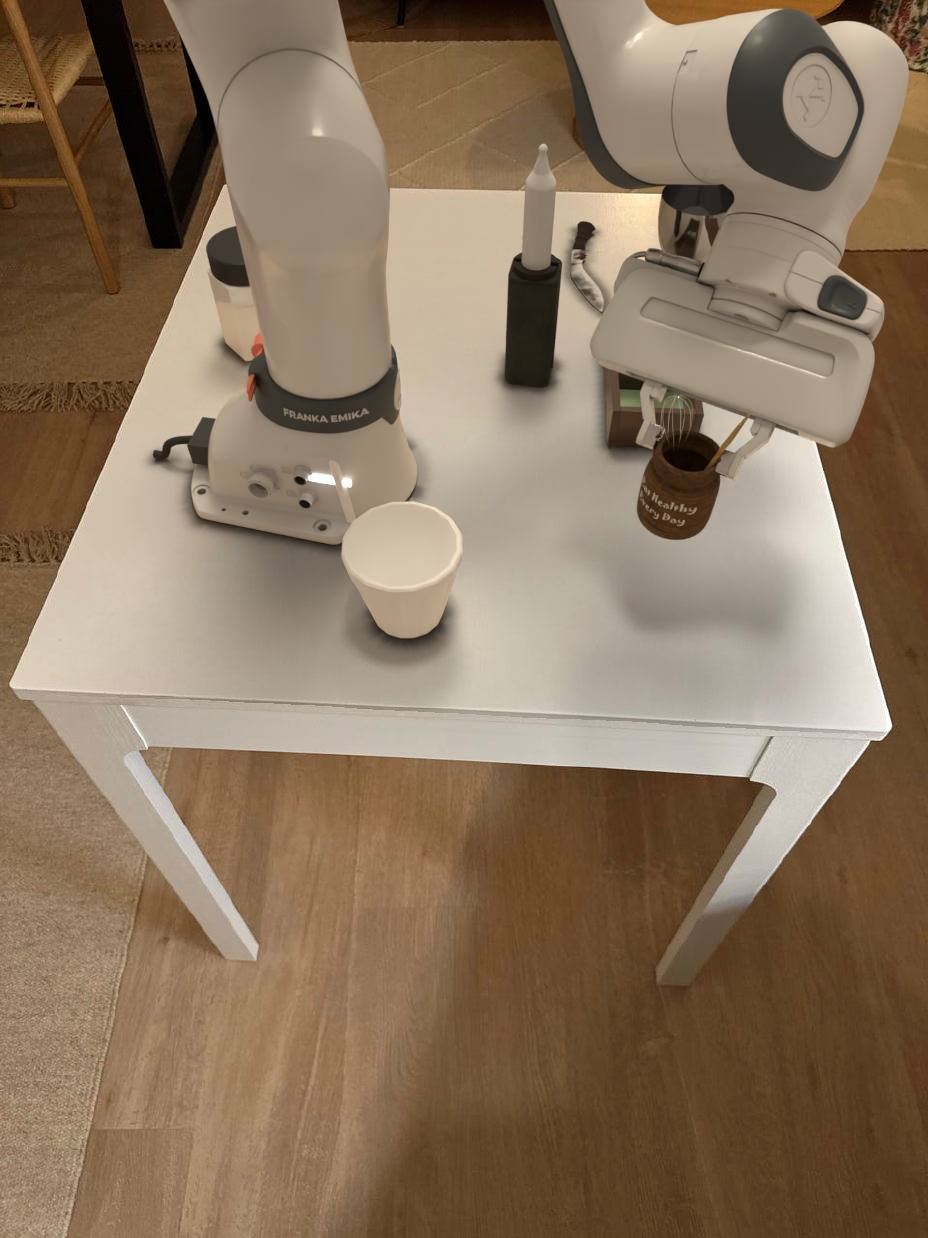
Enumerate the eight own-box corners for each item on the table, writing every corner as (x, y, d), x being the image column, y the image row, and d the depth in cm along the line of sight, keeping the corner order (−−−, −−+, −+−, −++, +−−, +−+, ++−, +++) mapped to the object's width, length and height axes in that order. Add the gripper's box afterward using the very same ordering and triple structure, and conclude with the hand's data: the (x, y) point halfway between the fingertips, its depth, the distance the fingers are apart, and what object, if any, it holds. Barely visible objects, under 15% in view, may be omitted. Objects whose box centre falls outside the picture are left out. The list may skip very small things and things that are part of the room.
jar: (315, 344, 104) (299, 247, 95) (254, 372, 101) (232, 275, 92) (274, 309, 108) (255, 213, 99) (214, 335, 105) (189, 239, 96)
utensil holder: (659, 479, 76) (689, 361, 66) (724, 514, 73) (766, 397, 64) (620, 518, 73) (645, 401, 63) (687, 556, 70) (724, 441, 61)
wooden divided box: (607, 445, 94) (612, 410, 90) (602, 343, 104) (607, 308, 100) (695, 449, 93) (704, 414, 90) (681, 346, 104) (689, 311, 100)
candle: (547, 388, 99) (567, 160, 79) (502, 383, 100) (510, 154, 80) (554, 360, 102) (575, 133, 82) (510, 355, 103) (520, 128, 83)
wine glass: (711, 339, 104) (743, 216, 92) (643, 339, 105) (666, 215, 93) (702, 300, 109) (731, 177, 97) (636, 299, 109) (657, 176, 97)
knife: (624, 304, 107) (583, 309, 107) (623, 314, 108) (582, 319, 108) (594, 218, 118) (556, 223, 118) (593, 228, 119) (556, 233, 119)
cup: (367, 563, 84) (357, 493, 76) (472, 577, 83) (472, 507, 75) (340, 650, 78) (326, 582, 70) (453, 666, 77) (451, 598, 69)
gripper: (623, 226, 65) (550, 408, 68) (908, 311, 59) (816, 508, 61) (638, 254, 71) (571, 420, 74) (899, 334, 65) (815, 513, 67)
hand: (684, 461), depth 67 cm, fingers closed on utensil holder, 5 cm apart
